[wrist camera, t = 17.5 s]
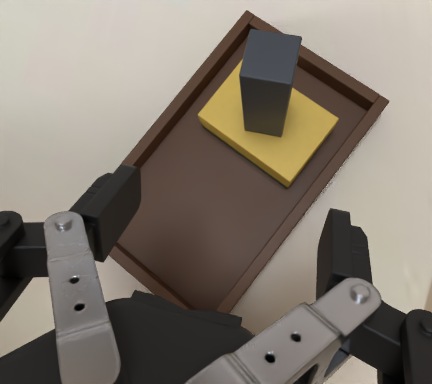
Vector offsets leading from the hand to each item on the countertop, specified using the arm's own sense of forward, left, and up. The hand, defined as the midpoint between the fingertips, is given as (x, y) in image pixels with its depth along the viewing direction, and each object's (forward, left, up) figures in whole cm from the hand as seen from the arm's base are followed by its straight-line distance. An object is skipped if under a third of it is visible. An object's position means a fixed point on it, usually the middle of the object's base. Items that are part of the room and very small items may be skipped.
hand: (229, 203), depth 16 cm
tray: (-3, +3, -13) cm, 14 cm away
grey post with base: (-3, +7, -12) cm, 14 cm away
